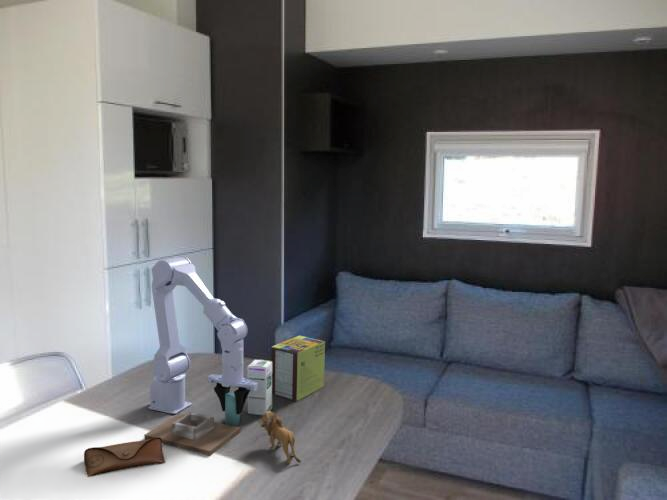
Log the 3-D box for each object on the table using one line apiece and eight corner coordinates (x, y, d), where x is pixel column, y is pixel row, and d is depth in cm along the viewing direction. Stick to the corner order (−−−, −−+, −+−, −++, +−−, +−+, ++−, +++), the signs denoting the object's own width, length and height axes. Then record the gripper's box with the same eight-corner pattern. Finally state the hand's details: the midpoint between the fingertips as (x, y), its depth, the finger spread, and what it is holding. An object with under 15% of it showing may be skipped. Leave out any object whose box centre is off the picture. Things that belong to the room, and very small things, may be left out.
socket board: (144, 439, 145) (144, 423, 145) (178, 417, 158) (178, 403, 157) (210, 455, 138) (210, 439, 137) (240, 432, 151) (240, 417, 150)
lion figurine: (255, 445, 144) (255, 411, 142) (271, 439, 147) (272, 406, 146) (292, 468, 133) (293, 432, 132) (309, 460, 137) (310, 425, 136)
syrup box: (266, 416, 161) (267, 367, 159) (246, 413, 162) (247, 365, 160) (272, 408, 166) (273, 360, 164) (253, 405, 168) (254, 358, 166)
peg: (222, 424, 155) (222, 396, 154) (230, 418, 159) (230, 391, 158) (234, 426, 154) (234, 398, 152) (242, 421, 157) (242, 393, 156)
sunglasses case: (85, 478, 126) (83, 447, 128) (84, 479, 132) (83, 450, 134) (168, 462, 134) (165, 433, 136) (163, 464, 140) (161, 436, 142)
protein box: (324, 386, 184) (325, 340, 182) (296, 402, 171) (297, 352, 169) (298, 379, 190) (299, 334, 188) (269, 394, 177) (270, 346, 175)
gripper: (201, 364, 153) (201, 412, 155) (248, 372, 147) (247, 422, 149) (216, 356, 159) (216, 402, 161) (261, 364, 154) (261, 412, 156)
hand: (232, 411), depth 156 cm, fingers closed on peg, 4 cm apart
